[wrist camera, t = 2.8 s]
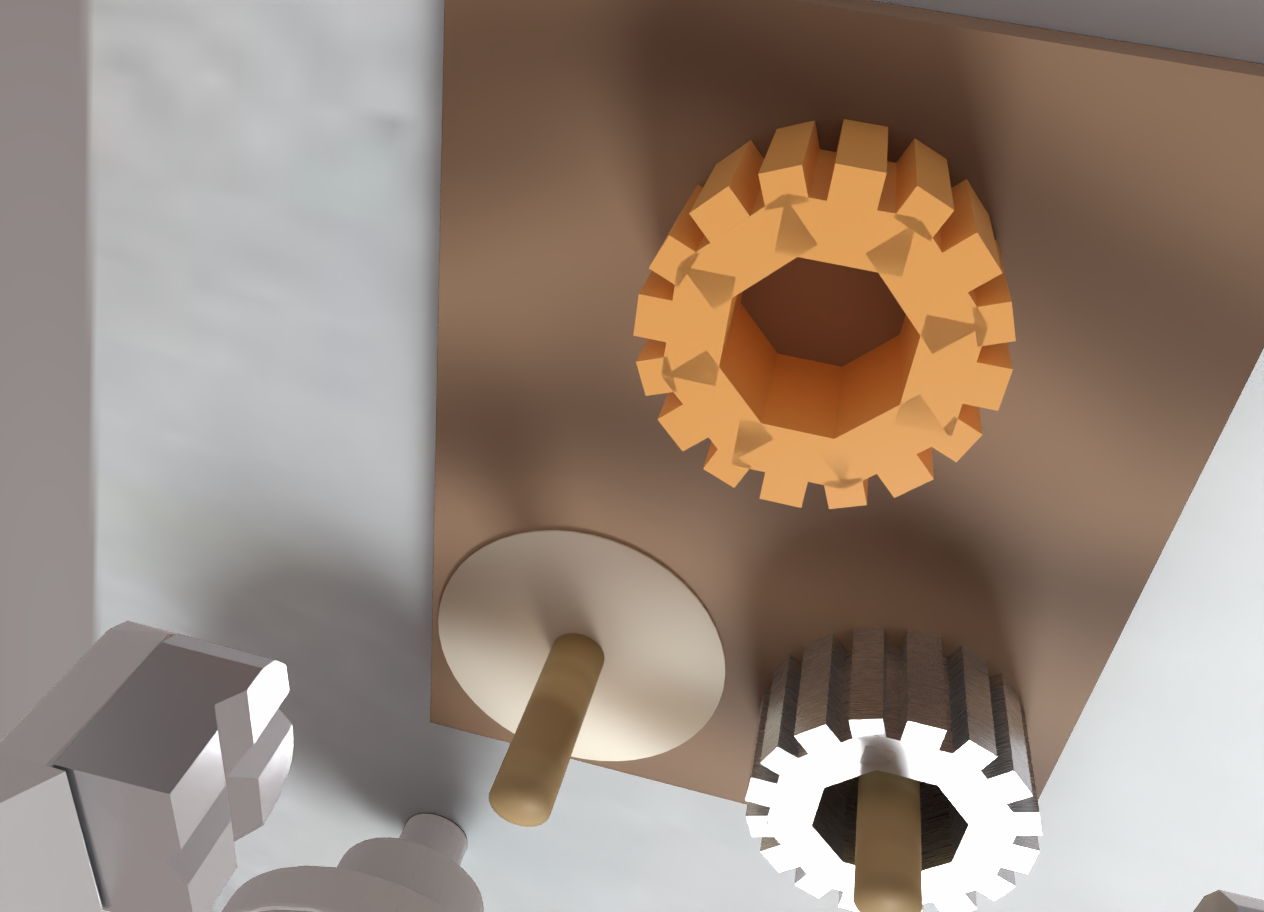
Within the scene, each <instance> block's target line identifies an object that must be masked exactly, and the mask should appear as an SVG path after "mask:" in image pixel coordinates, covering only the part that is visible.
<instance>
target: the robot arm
mask: <svg viewBox="0 0 1264 912" xmlns="http://www.w3.org/2000/svg"><path fill="white" fill-rule="evenodd" d="M289 691H290V690H289V683H288V676H287V668H286V664H283V663H281V662H279V661H276V660H273V659H269V658H266V657H262V656H258V655H255V654H251V653H247V652H244V651H240V650H236V649H233V648H229V647H225V646H222V645H218V644H214V643H211V642H207V641H204V640H200V639H196V638H193V637H189V636H185V635H182V634H178V633H177V634H176V633H172V632H169V631H165V630H161V629H157V628H153V627H150V626H146V625H142V624H138V623H134V622H131V621H126V622H124V623H121V624H119V625H117V626H115V627H113V628H111V629H109V630H108V631H107V632H106V633H105V634H104V635H103V636H102V637H101V638H100V639H99V640H98V641H97V642H96V643H95V644H94V645H93V646H92V647H91V648H90V649H89V650H88V651H87V652H86V653H85V654H84V656H82V657H81V658H80V660H79V661H78V662H77V663H76V664H75V665H74V666H73V667H72V668H71V669H70V670H69V671H68V672H67V673H66V674H65V675H64V676H63V677H62V678H61V679H60V680H59V681H58V682H57V683H56V684H55V685H54V686H53V687H52V688H51V690H49V691H48V693H47V694H46V695H45V696H44V697H43V698H42V699H41V700H40V701H39V702H38V703H37V704H36V705H35V706H34V707H33V708H32V709H31V710H30V711H29V712H28V713H27V714H26V715H25V716H24V717H23V718H22V720H20V722H19V723H17V725H16V726H15V727H14V728H13V729H12V730H11V731H10V732H9V733H8V734H7V735H6V736H5V737H4V738H3V739H2V740H1V741H0V912H103V910H106V911H110V912H210V910H211V908H212V907H213V905H214V904H215V902H216V900H217V899H218V897H219V896H220V894H221V892H222V891H223V889H224V888H225V886H226V884H227V883H228V881H229V880H230V878H231V876H232V875H233V873H234V872H235V870H236V868H237V860H236V853H235V845H234V842H235V841H236V840H238V839H240V838H242V837H243V836H245V835H247V834H249V833H251V832H252V831H254V830H256V829H258V828H259V827H261V826H263V825H264V823H265V821H266V820H267V818H268V816H269V815H270V813H271V811H272V810H273V808H274V806H275V805H276V803H277V801H278V799H279V797H280V795H281V792H282V789H283V787H284V784H285V781H286V778H287V776H288V773H289V770H290V768H291V761H292V754H293V747H294V738H293V725H292V724H291V723H290V721H289V720H288V719H287V718H286V716H285V715H284V714H283V713H282V711H281V710H280V709H279V708H278V707H279V706H280V704H281V703H282V701H283V700H284V698H285V697H286V695H287V694H288V692H289ZM1193 912H1264V900H1261V899H1256V898H1252V897H1248V896H1243V895H1239V894H1235V893H1230V892H1226V891H1222V890H1218V891H1215V892H1213V893H1211V894H1209V895H1206V896H1204V898H1203V899H1202V900H1201V902H1200V903H1199V904H1198V906H1197V907H1196V909H1195V910H1194V911H1193Z"/></svg>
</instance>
